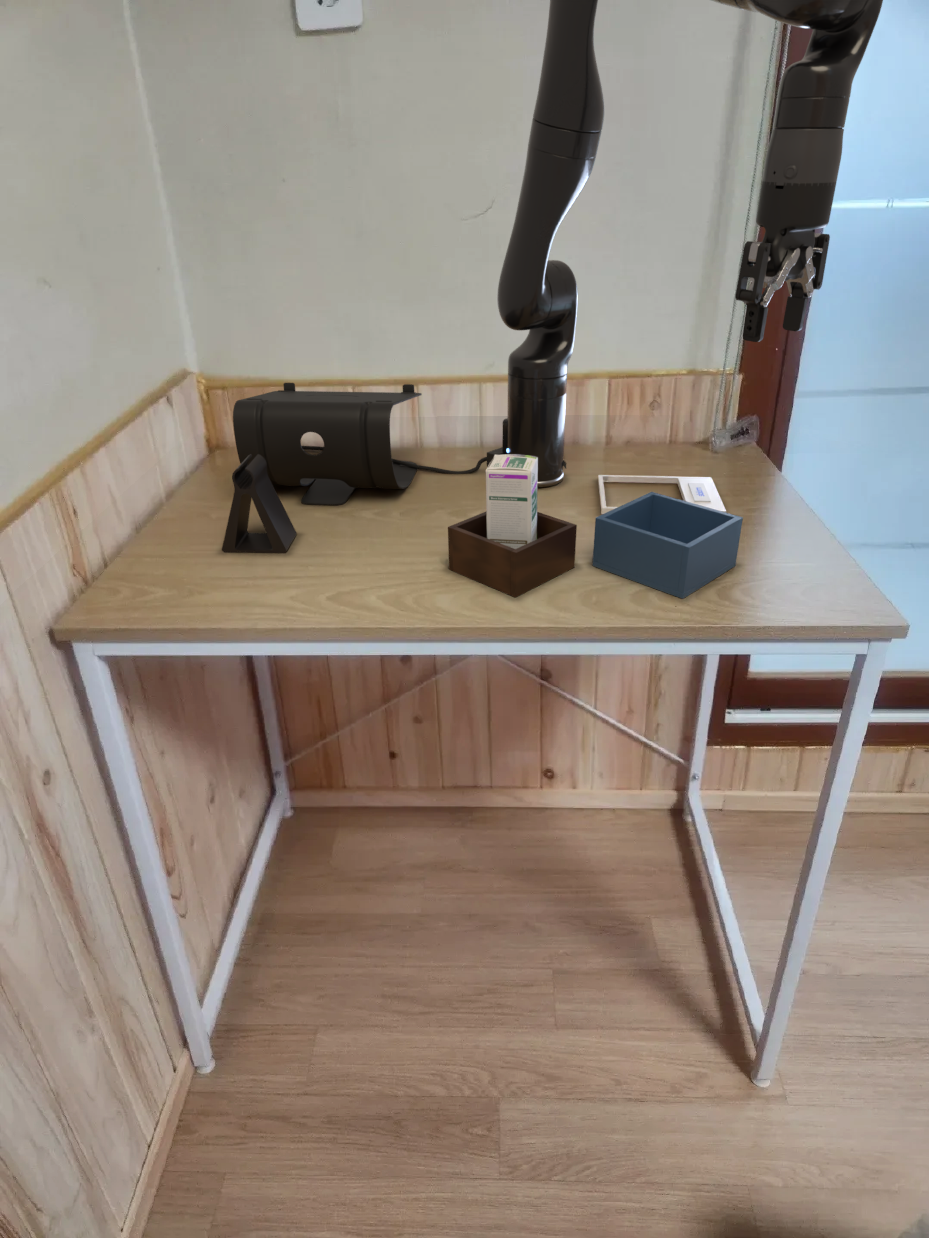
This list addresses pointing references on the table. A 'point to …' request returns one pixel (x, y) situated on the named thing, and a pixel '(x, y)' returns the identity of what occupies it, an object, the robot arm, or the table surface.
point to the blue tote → (666, 543)
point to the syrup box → (512, 499)
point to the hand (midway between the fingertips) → (772, 335)
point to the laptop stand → (346, 428)
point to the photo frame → (690, 487)
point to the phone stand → (268, 506)
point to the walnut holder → (512, 554)
